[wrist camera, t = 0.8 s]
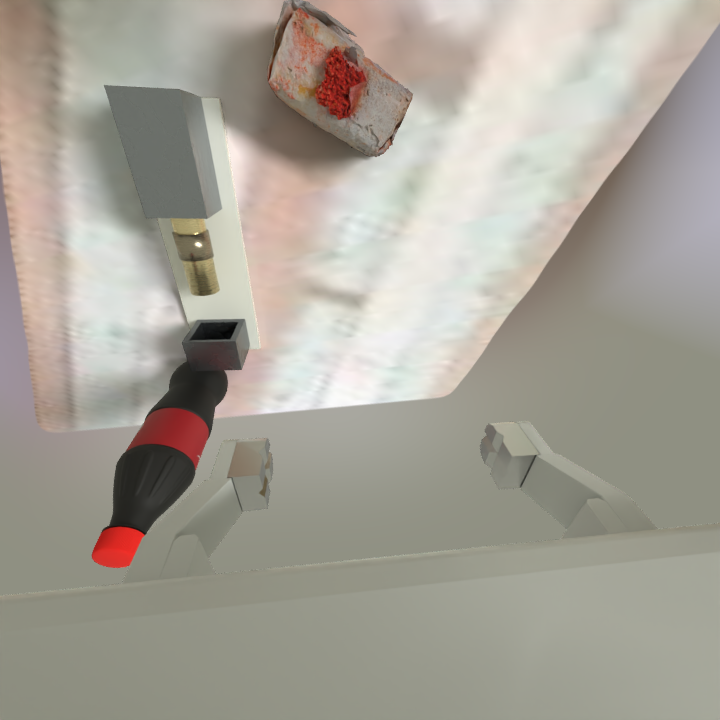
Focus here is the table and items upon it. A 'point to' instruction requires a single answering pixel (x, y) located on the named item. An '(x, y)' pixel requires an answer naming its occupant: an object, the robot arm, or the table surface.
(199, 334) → the socket
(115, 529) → the cola bottle
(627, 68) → the table surface
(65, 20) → the table surface
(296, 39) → the food item
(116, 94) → the grey tapered slab
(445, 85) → the table surface
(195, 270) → the tube
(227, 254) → the base
